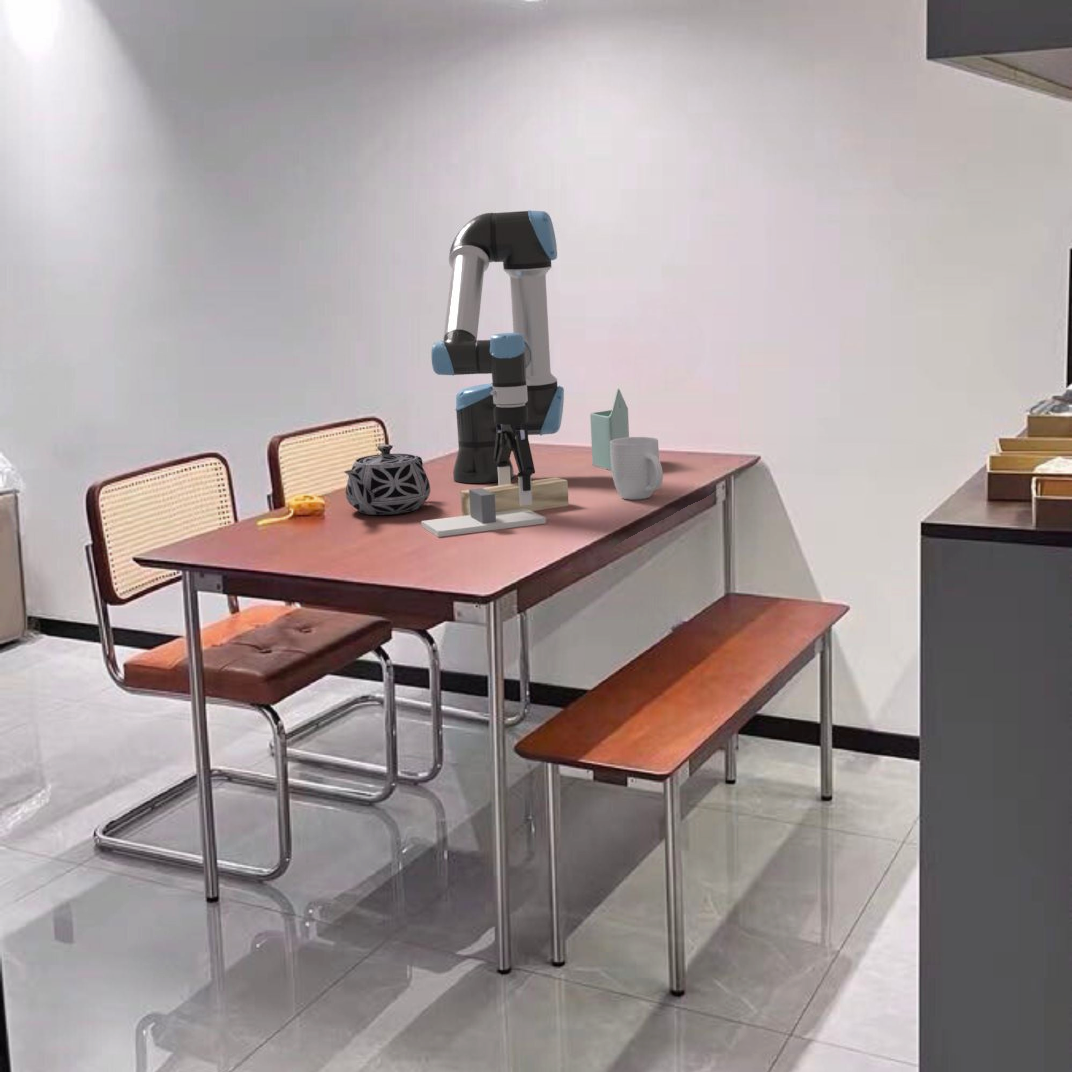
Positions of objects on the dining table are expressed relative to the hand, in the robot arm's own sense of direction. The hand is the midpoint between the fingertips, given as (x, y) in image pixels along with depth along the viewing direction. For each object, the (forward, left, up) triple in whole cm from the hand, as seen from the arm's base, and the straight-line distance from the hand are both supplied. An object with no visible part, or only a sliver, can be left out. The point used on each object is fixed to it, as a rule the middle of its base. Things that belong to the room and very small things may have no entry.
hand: (515, 500), depth 327 cm
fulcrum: (+10, -11, -2) cm, 15 cm away
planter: (-42, +40, -3) cm, 58 cm away
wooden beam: (0, 0, -3) cm, 3 cm away
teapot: (-17, -25, -3) cm, 30 cm away
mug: (+2, +29, -3) cm, 29 cm away
